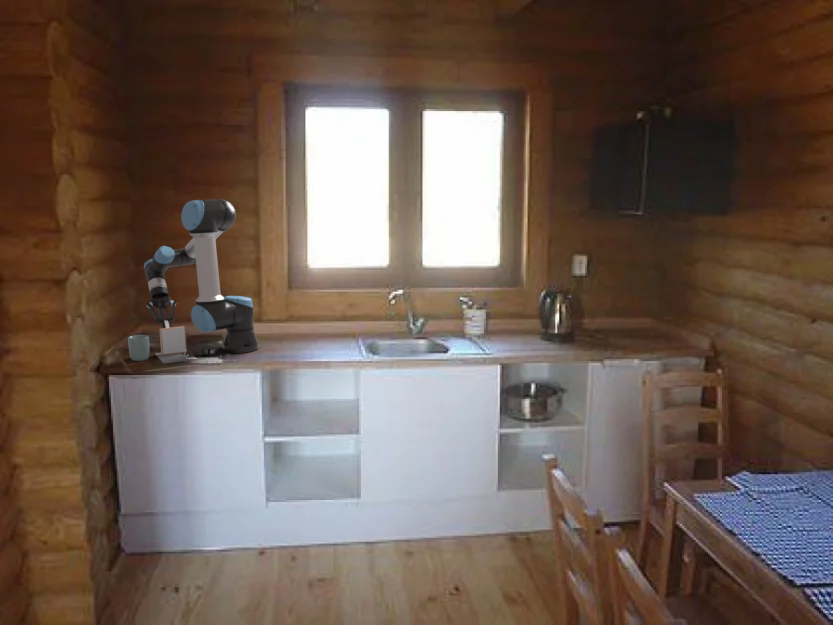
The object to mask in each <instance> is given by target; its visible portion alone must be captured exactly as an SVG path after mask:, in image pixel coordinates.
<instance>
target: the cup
mask: <svg viewBox="0 0 833 625" xmlns="http://www.w3.org/2000/svg"><path fill="white" fill-rule="evenodd" d="M149 338H150V337H149V336H148V334H147V335H146V334H135V335H131V336H128V337H127V342H128V343H127V344H128V353H129V356H130V359H131V360H132V361H133V362H140V361H146V360H148V359H149V357H150V339H149Z"/></svg>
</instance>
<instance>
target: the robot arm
mask: <svg viewBox="0 0 833 625" xmlns="http://www.w3.org/2000/svg"><path fill="white" fill-rule="evenodd" d="M180 219H181V224H182V225H183V228H184V229H186V230H187V231H188V234H189V235H190V237H192V238H191V239H190V241H189V242H188V243H187V244H186V245H185V246H184V247H183V248H177V249H173V248H172V247H170V246H167V245H162V246H159V247H158V249H157V250H156V252H154V255H153V257H152V258H151V259H148V260H146V261H145V262H144V264H143V268H144V269H143V270H144V274H145V277H146V278H145V279H146V281H147V284H148V285H147V286H148V289H149V290H148V291H149V294H150V302H147V303H146V309H147V310H148V311H149V312H150V313H151V315H152V318H153V319H154V321H155V322H156V324H160V325H161V329H162V328H172V323H173V322H175V312H176V307H177V302H178V301H177V300H176V299H175V300H172V298H171V297H170V295H169V291H168V287H167V282H166V279H165V273H166V272H167V270H168V269H169V268H174V267H180V266H182V267H183V266H193V265H195V266H196V275H197V286H198V295H199V296H198V297H196V299H195V304H196V305H194V306H192V308H191V311H190V315H191V316H190V317H191V320H192V323H193V325H194V327H196V329H197V330H198V331H200V332H202V333H213V332H216V331H219V330H225V336H224V339H223V343H222V349H223V351H225V352H226V353H230V354H232V353H233V354H243V353H250V352H254V351H256V350H258V349H259V348H260V347H259V341H258V339H257V336H256V333H255V329H254V327H255V326H254V323H255V322H254V305H253V300H252V298H251V297H247V296H239V295H227V296H223V295H222V294H221V285H220V284H221V283H220V276H219V275H220V274H219V262H218V253H217V245H216V244H217V242H216V240H217V239H218V238H219V237H220V236H221V235H222V234H223V233H225V232H228V231H229V230H230V229H231V228H232V227H233V226H234V224H235V222H236V219H237V213H236V209H235V206H234V205H233V204H232V203H230V202H229V201H228V200H226V199H221V198H217V199H215V198H214V199H195V200H190V201H188V202H186V204H184V206H183V208H182V211H181V218H180ZM169 305H170V306H171V311H170V312H171V314H170V313H169ZM154 307H155V308H154ZM155 309H157V312H156V310H155ZM163 311H164V313H163ZM164 316H165V318H164Z"/></svg>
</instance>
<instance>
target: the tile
mask: <svg viewBox="0 0 833 625" xmlns="http://www.w3.org/2000/svg"><path fill="white" fill-rule="evenodd" d="M186 333H187V332H186V327H185V325H184V326H174V327H171V328H162V327H161V328H159V340H160V353H161V355H170V354H178V353H186V352H187V349H188V348H187V336H186Z"/></svg>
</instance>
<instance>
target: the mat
mask: <svg viewBox="0 0 833 625" xmlns="http://www.w3.org/2000/svg"><path fill="white" fill-rule="evenodd" d="M154 354H155V355H156V357H157V358H158V359H159V360H160V361H161V363H163V364H164V365H165V364H170V363H171V364H172V363H178V362H179V363H180V362H188V361H190V360H189V359H186V358H185V357H188V356H189V355H188V354H187V355H185V354H186V353H184V354H183V355H182V353H178V354H170V355H161V352H155V353H154Z"/></svg>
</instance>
